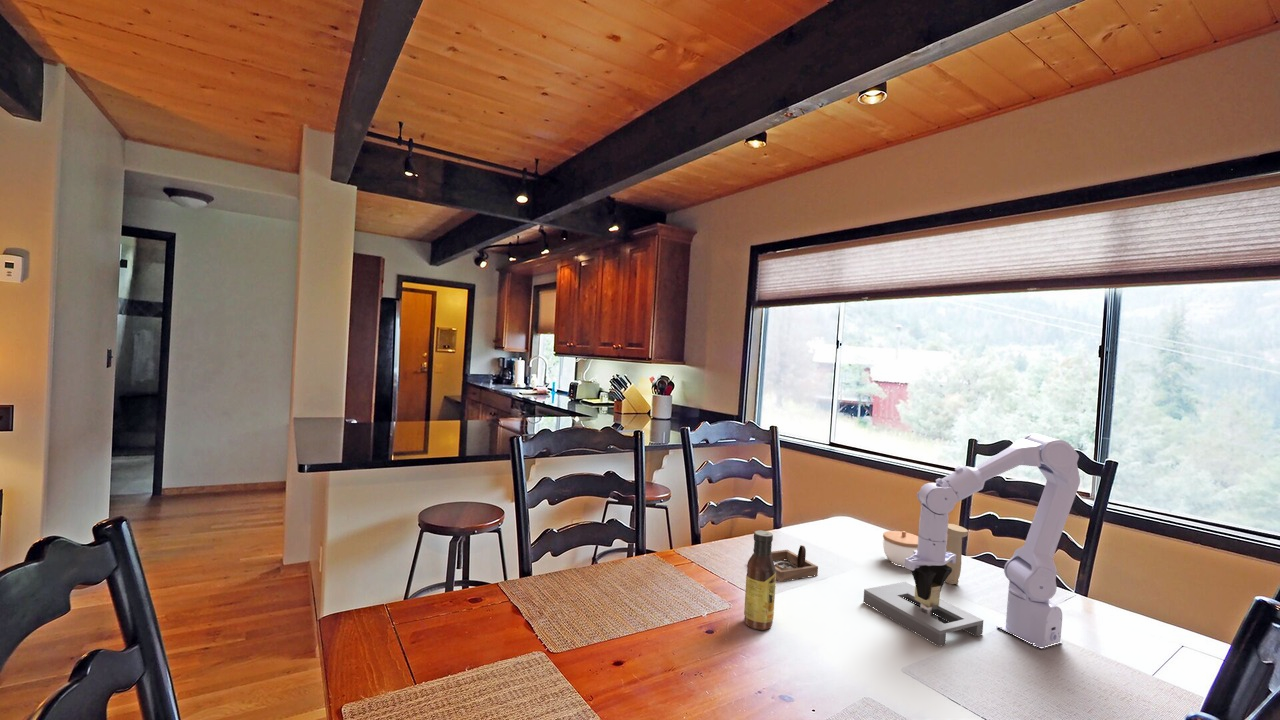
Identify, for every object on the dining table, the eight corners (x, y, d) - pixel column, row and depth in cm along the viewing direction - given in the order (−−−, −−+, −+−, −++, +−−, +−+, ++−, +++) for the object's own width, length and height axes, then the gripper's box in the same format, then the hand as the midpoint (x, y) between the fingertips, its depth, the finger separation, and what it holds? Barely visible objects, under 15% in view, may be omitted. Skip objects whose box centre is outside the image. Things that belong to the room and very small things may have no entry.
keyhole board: (982, 634, 120) (983, 620, 120) (938, 646, 114) (939, 630, 114) (904, 594, 138) (905, 581, 138) (863, 602, 133) (864, 589, 132)
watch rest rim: (817, 575, 147) (818, 566, 147) (780, 581, 142) (780, 572, 142) (786, 558, 158) (787, 549, 158) (751, 563, 153) (751, 554, 153)
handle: (951, 577, 151) (955, 523, 150) (968, 588, 144) (972, 531, 144) (935, 577, 150) (939, 523, 150) (951, 588, 144) (955, 531, 143)
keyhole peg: (942, 623, 124) (945, 586, 124) (927, 626, 122) (930, 589, 122) (923, 612, 128) (925, 576, 128) (908, 616, 126) (910, 579, 126)
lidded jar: (924, 562, 161) (926, 531, 161) (920, 574, 152) (922, 541, 151) (884, 553, 167) (886, 522, 166) (878, 564, 157) (881, 532, 157)
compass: (772, 565, 153) (774, 539, 153) (801, 568, 152) (803, 542, 152) (775, 577, 145) (777, 549, 145) (806, 580, 144) (808, 552, 144)
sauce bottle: (773, 633, 116) (779, 540, 115) (743, 629, 117) (749, 536, 116) (772, 618, 122) (778, 530, 122) (743, 614, 123) (749, 527, 123)
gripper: (938, 528, 131) (933, 584, 131) (894, 534, 125) (890, 593, 125) (966, 539, 125) (961, 598, 125) (922, 545, 118) (917, 607, 119)
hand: (928, 596), depth 125 cm, fingers closed on keyhole peg, 3 cm apart
